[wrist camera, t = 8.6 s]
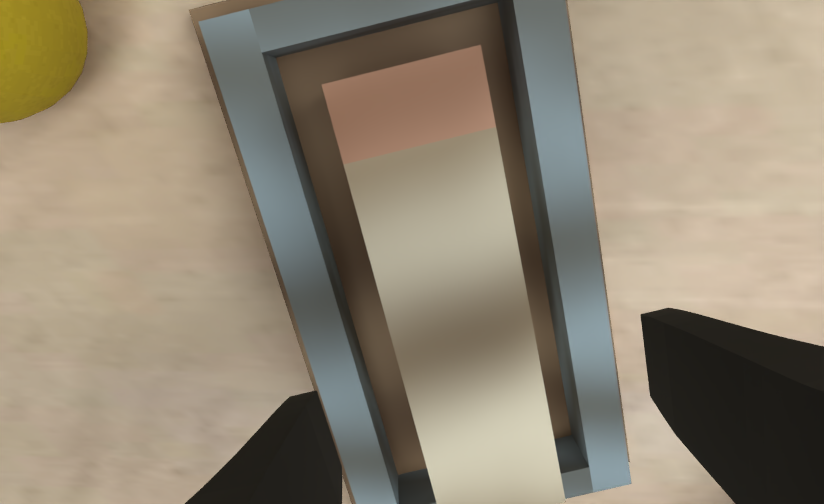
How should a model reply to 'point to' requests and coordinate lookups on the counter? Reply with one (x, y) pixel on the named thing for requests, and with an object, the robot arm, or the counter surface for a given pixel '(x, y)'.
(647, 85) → the counter surface
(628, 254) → the counter surface
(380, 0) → the tray
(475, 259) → the two-tone wooden block
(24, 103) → the lemon
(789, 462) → the robot arm
